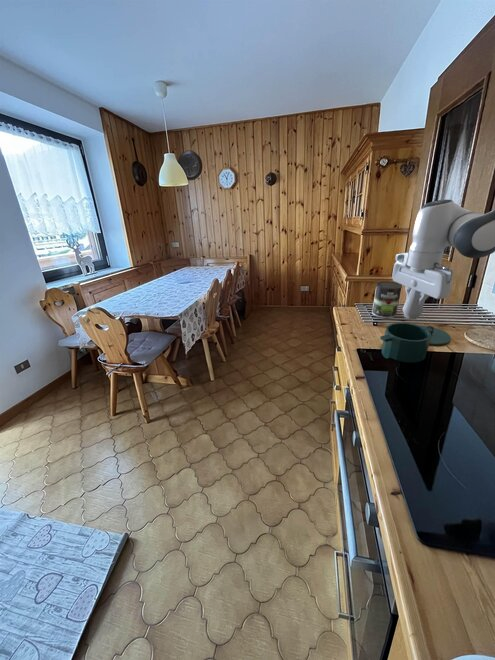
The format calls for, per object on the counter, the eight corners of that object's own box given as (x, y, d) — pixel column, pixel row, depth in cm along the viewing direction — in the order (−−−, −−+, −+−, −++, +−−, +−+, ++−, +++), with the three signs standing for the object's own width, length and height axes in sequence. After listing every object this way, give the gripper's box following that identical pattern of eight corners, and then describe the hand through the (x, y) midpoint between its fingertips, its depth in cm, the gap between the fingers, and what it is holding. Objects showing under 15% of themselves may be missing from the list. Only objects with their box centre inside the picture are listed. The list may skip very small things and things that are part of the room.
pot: (441, 360, 96) (448, 335, 92) (391, 370, 93) (397, 345, 88) (411, 341, 108) (416, 319, 103) (367, 350, 104) (370, 327, 100)
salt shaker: (416, 313, 96) (425, 275, 90) (424, 320, 90) (434, 281, 85) (398, 313, 96) (406, 276, 90) (405, 320, 91) (413, 281, 85)
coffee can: (398, 319, 125) (404, 288, 119) (373, 318, 128) (378, 288, 121) (393, 309, 134) (399, 281, 128) (370, 309, 136) (374, 280, 130)
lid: (460, 342, 105) (463, 332, 103) (426, 349, 103) (429, 339, 101) (429, 325, 118) (431, 316, 116) (398, 331, 115) (400, 322, 113)
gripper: (464, 266, 76) (450, 313, 83) (408, 251, 94) (401, 291, 100) (444, 269, 75) (431, 316, 81) (392, 254, 93) (385, 293, 99)
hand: (414, 302), depth 91 cm, fingers closed on salt shaker, 3 cm apart
